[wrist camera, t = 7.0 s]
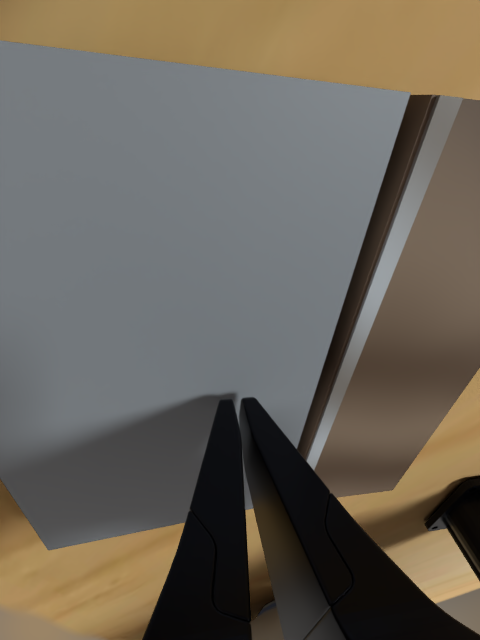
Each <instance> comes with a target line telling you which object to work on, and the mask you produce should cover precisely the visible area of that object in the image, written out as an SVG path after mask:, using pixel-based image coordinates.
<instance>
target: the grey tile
mask: <svg viewBox="0 0 480 640" xmlns="http://www.w3.org/2000/svg"><path fill="white" fill-rule="evenodd" d="M409 97H410V92H402V91H394V90H386V89H378V88H370V87H363V86H355V85H347V84H339V83H331V82H323V81H315V80H307V79H299V78H291V77H284V76H276V75H268V74H260V73H252V72H244V71H236V70H228V69H220V68H212V67H205V66H197V65H189V64H181V63H173V62H165V61H157V60H149V59H141V58H133V57H126V56H118V55H110V54H102V53H94V52H86V51H78V50H70V49H62V48H55V47H47V46H39V45H31V44H23V43H15V42H7V41H0V479H1V480H2V482H3V483H4V485H5V486H6V488H7V489H8V491H9V492H10V494H11V495H12V497H13V498H14V500H15V501H16V503H17V504H18V506H19V507H20V509H21V510H22V512H23V513H24V515H25V516H26V518H27V519H28V521H29V522H30V524H31V525H32V527H33V528H34V530H35V531H36V533H37V534H38V536H39V537H40V539H41V540H42V542H43V543H44V545H45V546H46V548H47V549H48V550H53V549H58V548H63V547H67V546H72V545H77V544H82V543H87V542H92V541H97V540H102V539H106V538H111V537H116V536H121V535H126V534H131V533H136V532H140V531H145V530H150V529H155V528H160V527H165V526H170V525H175V524H179V523H184V522H186V519H187V515H188V512H189V508H190V505H191V501H192V497H193V494H194V490H195V486H196V483H197V479H198V475H199V472H200V468H201V464H202V461H203V457H204V454H205V450H206V446H207V443H208V439H209V435H210V432H211V428H212V424H213V421H214V417H215V413H216V410H217V406H218V403H219V400H220V399H230V398H231V399H233V401H234V405H235V410H236V414H237V419H238V423H239V412H240V404H241V399H242V398H245V397H255V398H256V399H257V400H258V402H259V403H260V404H261V405H262V406H263V408H264V409H265V410H266V411H267V413H268V414H269V415H270V416H271V418H272V419H273V420H274V421H275V423H276V424H277V425H278V426H279V428H280V429H281V430H282V431H283V433H284V434H285V435H286V436H287V438H288V439H289V440H290V441H291V443H292V444H293V445H294V446H295V448H296V449H297V447H298V444H299V440H300V437H301V434H302V431H303V428H304V425H305V422H306V419H307V415H308V412H309V409H310V406H311V403H312V400H313V397H314V394H315V390H316V387H317V384H318V381H319V378H320V375H321V372H322V369H323V365H324V362H325V359H326V356H327V353H328V350H329V347H330V344H331V340H332V337H333V334H334V331H335V328H336V325H337V322H338V319H339V315H340V312H341V309H342V306H343V303H344V300H345V297H346V294H347V290H348V287H349V284H350V281H351V278H352V275H353V272H354V269H355V265H356V262H357V259H358V256H359V253H360V250H361V247H362V243H363V240H364V237H365V234H366V231H367V228H368V225H369V222H370V218H371V215H372V212H373V209H374V206H375V203H376V200H377V197H378V193H379V190H380V187H381V184H382V181H383V178H384V175H385V172H386V168H387V165H388V162H389V159H390V156H391V153H392V150H393V147H394V143H395V140H396V137H397V134H398V131H399V128H400V125H401V122H402V118H403V115H404V112H405V109H406V106H407V103H408V100H409ZM239 427H240V425H239ZM242 457H243V451H242ZM243 476H244V496H245V510H248V509H252V508H253V504H252V500H251V495H250V491H249V487H248V483H247V478H246V473H245V467H244V459H243Z"/></svg>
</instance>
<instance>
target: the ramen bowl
mask: <svg viewBox="0 0 480 640" xmlns="http://www.w3.org/2000/svg"><path fill="white" fill-rule="evenodd" d="M250 624H251V630H252V640H284V636H283V632H282V628H281V624H280V619H279V615H278V611H277V606H276V602H275V600H274V601H272V602H270V603H268V604H267V605H265V606H264V607H263V609H262V610H261V611H260V613H259V614H258V616H257V617H256V618H255V619H254V620H252V621H251V622H250Z"/></svg>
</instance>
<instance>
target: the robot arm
mask: <svg viewBox="0 0 480 640" xmlns="http://www.w3.org/2000/svg"><path fill="white" fill-rule="evenodd" d="M239 425H240V427H239ZM242 451H243V457H242ZM243 459H244V467H245V473H246V478H247V483H248V487H249V491H250V495H251V500H252V504H253V508H254V513H255V517H256V521H257V525H258V530H259V534H260V538H261V542H262V547H263V551H264V555H265V560H266V564H267V568H268V572H269V577H270V581H271V585H272V589H273V594H274V598H275V602H276V606H277V611H278V615H279V619H280V624H281V628H282V632H283V636H284V640H480V635H479V634H477V633H476V632H474V631H473V630H471V629H469V628H468V627H466V626H465V625H463V624H462V623H460V622H458V621H457V620H455V619H454V618H453V617H451V616H450V615H449V614H447V613H445V612H444V611H443V610H442V609H441V608H440V607H438V606H437V605H436V604H435V603H434V602H433V601H432V600H431V599H429V598H428V597H427V596H426V595H425V594H424V593H423V592H422V591H421V590H420V589H419V588H418V587H417V586H416V585H415V584H414V583H413V581H412V580H411V579H410V578H409V577H408V576H407V575H406V574H405V573H404V572H403V571H402V570H401V569H400V568H399V567H398V566H397V565H396V564H395V563H394V562H393V561H392V560H391V559H390V558H389V557H388V556H387V554H386V553H385V552H384V551H383V550H382V549H381V548H380V547H379V546H378V545H377V544H376V543H375V542H374V541H373V540H372V539H371V538H370V537H369V536H368V534H367V533H366V532H365V531H364V530H363V529H362V528H361V527H360V526H359V525H358V524H357V522H356V521H355V520H354V519H353V518H352V517H351V515H350V514H349V513H348V512H347V511H346V509H345V508H344V507H343V506H342V505H341V503H340V502H339V501H338V500H337V498H336V497H335V496H334V495H333V493H330V490H329V489H328V487H327V486H326V485H325V484H324V482H323V481H322V480H321V479H320V477H319V476H318V475H317V474H316V472H315V471H314V470H313V469H312V467H311V466H310V465H309V464H308V462H307V461H306V460H305V459H304V457H303V456H302V455H301V454H300V453H299V451H298V450H297V449H296V448H295V446H294V445H293V444H292V443H291V441H290V440H289V439H288V438H287V436H286V435H285V434H284V433H283V431H282V430H281V429H280V428H279V426H278V425H277V424H276V423H275V421H274V420H273V419H272V418H271V416H270V415H269V414H268V413H267V411H266V410H265V409H264V408H263V406H262V405H261V404H260V403H259V402H258V400H257V399H256V398H255V397H245V398H242V399H241V404H240V412H239V423H238V419H237V414H236V410H235V405H234V401H233V399H231V398H230V399H220V400H219V403H218V406H217V410H216V413H215V417H214V421H213V424H212V428H211V432H210V435H209V439H208V443H207V446H206V450H205V454H204V457H203V461H202V464H201V468H200V472H199V475H198V479H197V483H196V486H195V490H194V494H193V497H192V501H191V505H190V508H189V512H188V515H187V519H186V522H185V526H184V529H183V533H182V536H181V539H180V542H179V546H178V549H177V552H176V555H175V557H174V560H173V563H172V565H171V568H170V571H169V574H168V576H167V579H166V581H165V584H164V586H163V589H162V591H161V594H160V596H159V599H158V601H157V604H156V606H155V609H154V611H153V614H152V616H151V619H150V621H149V624H148V626H147V629H146V631H145V634H144V636H143V639H142V640H252V630H251V624H250V622H251V610H250V591H249V572H248V553H247V534H246V515H245V496H244V476H243ZM425 526H426V527H427V529H428V531H434V530H440V529H446V528H447V529H448V531H449V533H450V534H451V536H452V537H453V539H454V541H455V542H456V544H457V545H458V547H459V549H460V550H461V552H462V553H463V555H464V557H465V558H466V560H467V562H468V563H469V565H470V566H471V568H472V570H473V571H474V573H475V574H476V576H477V578H478V579H479V581H480V478H479V479H471V480H468V481H465V482H464V483H462V484H461V485H460V486H459V487H458V488H457V489H456V491H455V492H454V493H453V494H452V495H451V496H450V497H449V498H448V499H447V500H446V501H445V502H444V503H443V504H442V505H441V507H440V508H439V509H438V510H437V511H436V512H435V513H434V514H433V515H432V516H431V517H430V518H429V519H428V520H427V521H426V523H425Z"/></svg>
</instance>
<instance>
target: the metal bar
mask: <svg viewBox="0 0 480 640" xmlns="http://www.w3.org/2000/svg"><path fill="white" fill-rule="evenodd" d="M479 368H480V100H472V99H463V98H459V97H450V96H442V95H410V97H409V100H408V103H407V106H406V109H405V112H404V115H403V118H402V122H401V125H400V128H399V131H398V134H397V137H396V140H395V143H394V147H393V150H392V153H391V156H390V159H389V162H388V165H387V168H386V172H385V175H384V178H383V181H382V184H381V187H380V190H379V193H378V197H377V200H376V203H375V206H374V209H373V212H372V215H371V218H370V222H369V225H368V228H367V231H366V234H365V237H364V240H363V243H362V247H361V250H360V253H359V256H358V259H357V262H356V265H355V269H354V272H353V275H352V278H351V281H350V284H349V287H348V290H347V294H346V297H345V300H344V303H343V306H342V309H341V312H340V315H339V319H338V322H337V325H336V328H335V331H334V334H333V337H332V340H331V344H330V347H329V350H328V353H327V356H326V359H325V362H324V365H323V369H322V372H321V375H320V378H319V381H318V384H317V387H316V390H315V394H314V397H313V400H312V403H311V406H310V409H309V412H308V415H307V419H306V422H305V425H304V428H303V431H302V434H301V437H300V440H299V444H298V447H297V450H298V451H299V453H300V454H301V455H302V456H303V457H304V459H305V460H306V461H307V462H308V464H309V465H310V466H311V467H312V469H313V470H314V471H315V472H316V474H317V475H318V476H319V477H320V479H321V480H322V481H323V482H324V484H325V485H326V486H327V487H328V489H329V490H330V493H333V495H334V496H335V497H344V496H352V495H359V494H367V493H375V492H383V491H390V490H393V489H394V488H395V486H396V485H397V483H398V482H399V480H400V479H401V478H402V476H403V475H404V473H405V472H406V471H407V469H408V468H409V466H410V465H411V464H412V462H413V461H414V459H415V458H416V457H417V455H418V454H419V452H420V451H421V450H422V448H423V447H424V445H425V444H426V442H427V441H428V440H429V438H430V437H431V435H432V434H433V433H434V431H435V430H436V428H437V427H438V426H439V424H440V423H441V421H442V420H443V419H444V417H445V416H446V414H447V413H448V412H449V410H450V409H451V407H452V406H453V405H454V403H455V402H456V400H457V399H458V397H459V396H460V395H461V393H462V392H463V390H464V389H465V388H466V386H467V385H468V383H469V382H470V381H471V379H472V378H473V376H474V375H475V374H476V372H477V371H478V369H479Z"/></svg>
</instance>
